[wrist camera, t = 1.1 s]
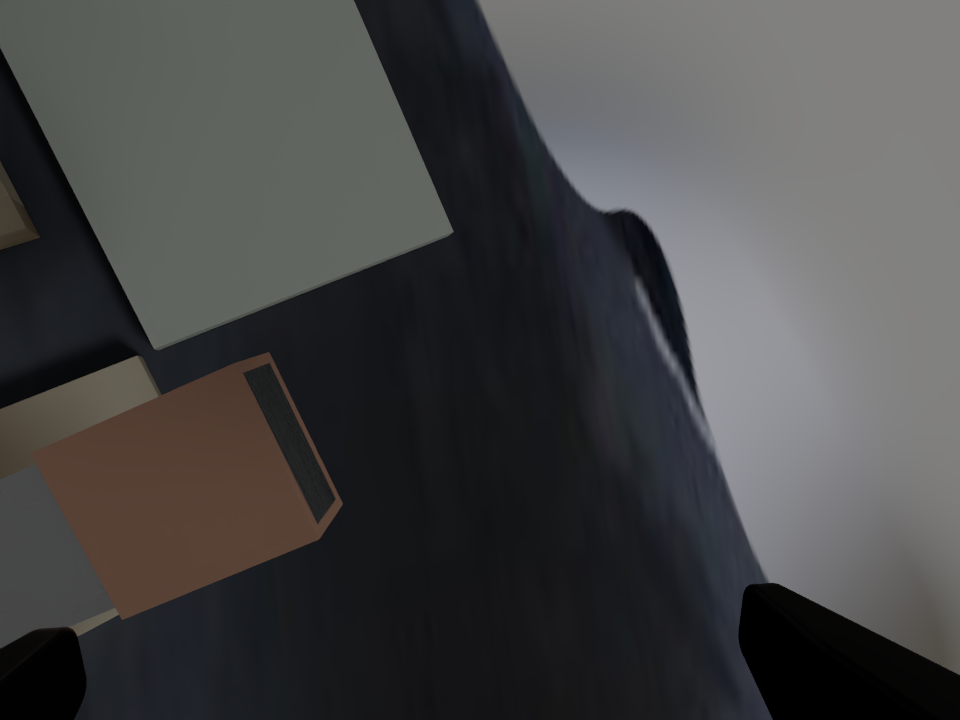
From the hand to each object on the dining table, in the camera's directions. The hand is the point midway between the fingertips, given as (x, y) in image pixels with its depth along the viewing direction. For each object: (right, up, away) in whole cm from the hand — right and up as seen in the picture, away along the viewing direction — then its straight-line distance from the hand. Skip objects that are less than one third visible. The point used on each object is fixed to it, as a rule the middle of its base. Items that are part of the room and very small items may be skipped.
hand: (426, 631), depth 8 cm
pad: (-8, +12, +12) cm, 19 cm away
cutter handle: (-10, -1, +5) cm, 12 cm away
